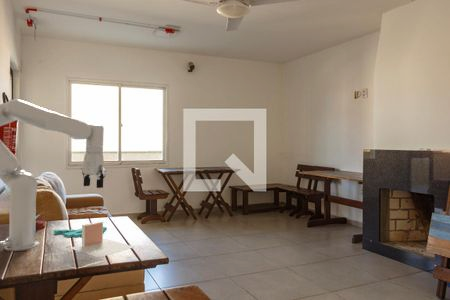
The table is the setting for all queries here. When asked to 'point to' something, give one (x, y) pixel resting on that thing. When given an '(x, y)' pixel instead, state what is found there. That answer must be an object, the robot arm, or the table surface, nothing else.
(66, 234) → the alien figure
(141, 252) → the table surface
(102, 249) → the mat
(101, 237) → the tile
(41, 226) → the canned food
